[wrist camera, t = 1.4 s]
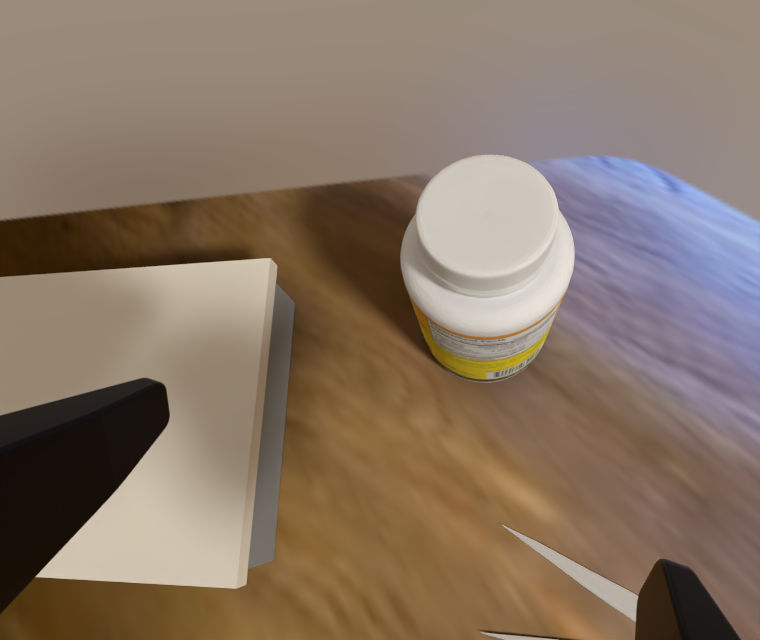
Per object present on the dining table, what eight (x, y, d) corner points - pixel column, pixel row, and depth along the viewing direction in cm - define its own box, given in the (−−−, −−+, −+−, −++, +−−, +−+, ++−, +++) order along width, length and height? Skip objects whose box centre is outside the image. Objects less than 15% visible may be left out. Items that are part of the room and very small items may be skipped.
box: (281, 571, 21) (235, 588, 17) (-77, 553, 24) (-184, 564, 21) (302, 295, 25) (270, 258, 21) (-4, 312, 29) (-82, 282, 25)
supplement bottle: (449, 259, 25) (431, 111, 15) (560, 295, 23) (619, 153, 13) (405, 360, 23) (355, 266, 14) (520, 405, 22) (553, 334, 12)
